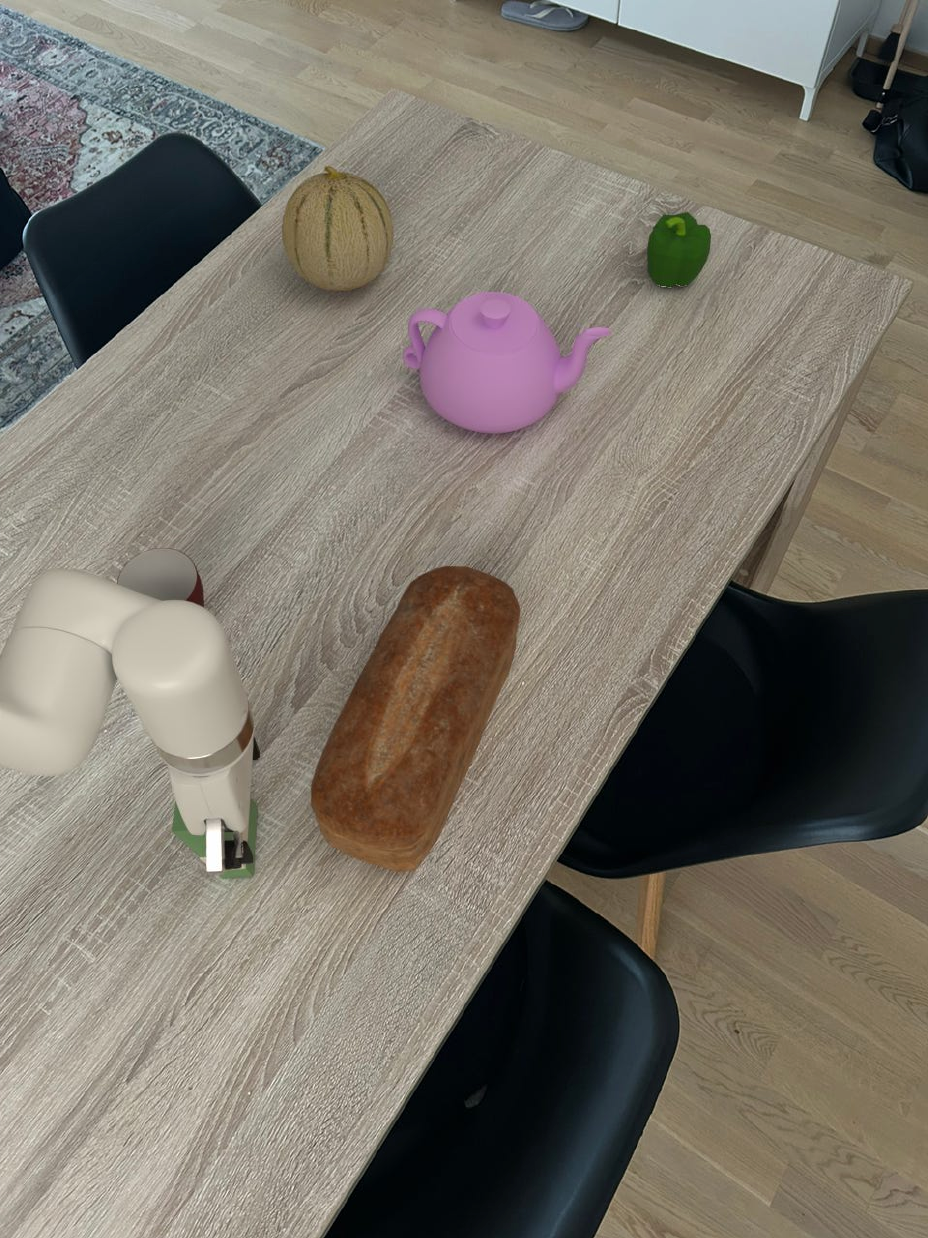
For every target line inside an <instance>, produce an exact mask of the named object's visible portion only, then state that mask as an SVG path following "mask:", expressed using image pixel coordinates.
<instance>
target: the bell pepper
mask: <svg viewBox="0 0 928 1238" xmlns="http://www.w3.org/2000/svg"><path fill="white" fill-rule="evenodd" d="M711 243H712V234H711V229H710V228H709V227H708V226H707V225H706V224H698V221H697V219H696V218H695V217H694V216H693V215H692V214H691V213H689V212H688V211H684V212H681V213H677V214H662V215H661V217H660V218H659V219H658V220H657V222H656V223H655V225H654V226H653V228H652V231H651V232H650V234H649V236H648V242H647V246H646V247H647V248H646V249H647V250H646V251H647V252H646V262H647V272H648V276H649V277H650V279H651V278H652V279H651V281H652V282H653V281H654V282H655V283H656V284H658V285H660V286H666V287H672V288H674V287H675V286H674V285H676V284H677V285H680V286H685V285H687V286H689V285H690V284H691V283H693V281H695V280H696V279H697V278H698V276H699V274H700V273H701V272H702V269H703V268H704V266H705V265H706V264H707V261H708V258H709V255H710V251H711ZM654 282H653V283H654ZM655 283H654V284H655ZM656 284H655V285H656ZM688 284H689V285H688ZM658 285H657V286H658ZM673 286H674V287H673Z"/></svg>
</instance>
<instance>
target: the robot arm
mask: <svg viewBox="0 0 928 1238" xmlns="http://www.w3.org/2000/svg"><path fill="white" fill-rule="evenodd" d="M117 681H118V683H119V684H120V686H121V688H122V690H123V691H124V693H125V695H126V697H127V699H128V700H129V703H130V704H131V706H132V708H133V710H134V711H135V713H136V715H137V717H138V719H139V720H140V722H141V724H142V726H143V728H144V730H145V731H146V733H147V735H148V737H149V739H150V740H151V742H152V743H153V745H154V748H155V749H156V751H157V754H158V755H159V757H160V758H161V759H162V761H163V762H164V763H165V764H166V765H167V767H168V770H169V779H170V785H171V789H172V794H173V797H174V802H175V801H176V804H177V806H178V809H179V812H180V814H181V817H182V819H183V821H184V823H185V825H186V827H187V829H188V831H189V832H190V833H191V834H192V835H203V834H204V833H205V834H206V864H205V865H206V867H205V868H206V875H207V876H219V875H222V874H224V873H225V872H227V870H231V869H239V868H241V867H242V864H251V863H253V860H254V856H253V854H252V852H251V849H250V847H249V845H248V843H247V841H245V840H243V837H242V831H244V830H245V828H246V827H247V824H248V817H249V805H250V798H251V789H252V778H253V777H252V775H253V762H254V761H258V760H259V759H260V758H261V750H260V748H259V747H260V746H259V743H258V741H257V739H256V737H255V736H256V735H255V733H256V719H255V716H254V715H255V714H254V712H253V709H252V706H251V703H250V701H249V697H248V695H247V692H246V689H245V687H244V683H243V680H242V676H241V674H240V671H239V668H238V666H237V663H236V659H235V656H234V653H233V650H232V647H231V645H230V642H229V639H228V636H227V634H226V632H225V630H224V627H223V625H222V624H221V622H220V621H219V620H218V618H217V617H216V616H215V615H214V614H213V613H212V612H211V611H209V609H206V608H205V607H204V608H203V607H202V606H200V605H197V604H195V603H193V602H188V601H184V600H165V601H161V600H158V599H156V598H153V597H150V596H147V595H144V594H142V593H139V592H136V591H134V590H131V589H129V588H126V587H124V586H121V585H119V584H117V582H113V581H111V580H108V579H106V578H104V577H103V576H102V575H100V574H97V573H95V572H93V571H90V570H87V569H82V568H64V567H63V568H62V567H61V568H59V567H58V568H52V569H49V570H46V571H44V572H42V573H41V574H40V575H38V576H37V577H36V578H35V579H34V580H33V582H32V583H31V585H30V587H29V590H28V591H27V593H26V595H25V597H24V600H23V602H22V604H21V606H20V609H19V611H18V614H17V616H16V618H15V621H14V623H13V626H12V628H11V630H10V633H9V635H8V636H7V639H6V641H5V642H4V645H3V647H2V650H1V652H0V767H2V768H5V769H8V770H11V771H16V772H19V773H21V774H28V775H32V776H40V777H54V776H60V775H64V774H67V773H70V772H72V771H73V770H75V769H77V768H78V767H79V766H80V765H82V764H83V763H84V762H85V761H86V759H87V758H88V757H89V755H90V753H91V752H92V750H93V748H94V746H95V744H96V741H97V739H98V737H99V734H100V731H101V728H102V725H103V723H104V720H105V717H106V714H107V711H108V708H109V706H110V702H111V700H112V696H113V693H114V691H115V687H116V685H117ZM224 832H233V840H224Z"/></svg>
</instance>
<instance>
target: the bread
mask: <svg viewBox="0 0 928 1238" xmlns="http://www.w3.org/2000/svg"><path fill="white" fill-rule="evenodd" d="M520 619H521V606H520V603H519V600H518V598H517V596H516V594H515V591H514V589H513V588H512V587H511V586H510V584H508V583H507V582H505V581H504V580H502V579H500V578H498V577H496V576H494V575H491V574H489V573H487V572H484V571H482V570H478V569H476V568H473V567H470V566H461V565H460V566H459V565H444V566H439V567H434V568H433V569H431V570H429V571H427V572H425V573H423V574H421V575H418V576H417V577H416V578H414V579H413V580H412V581H411V582H409V584H408V585H407V588H406V589H405V590H404V592H403V594H402V595H401V597H400V599H399V602H398V604H397V606H396V608H395V611H394V612H393V614H392V615H391V617H390V618H389V620H388V622H386V625H385V627H384V628H383V631H382V632H381V634H380V635H379V637H378V640H377V642H376V644H375V646H374V649H373V650H372V653H370V656H369V657H368V659H367V661H366V663H365V664H364V666H363V668H362V670H361V672H360V674H359V675H358V678H357V680H356V681H355V683H354V686H353V687H352V689H351V692H350V693H349V695H348V697H347V700H346V702H345V704H344V705H343V708H342V710H341V712H340V713H339V715H338V717H337V719H336V721H335V723H334V726H333V728H332V730H331V732H330V734H329V735H328V738H327V740H326V743H325V745H324V747H323V749H322V751H321V754H320V757H319V759H318V762H317V764H316V768H315V771H314V775H313V777H312V781H311V784H310V807H311V809H312V811H313V813H314V816H315V817H314V818H315V820H316V822H317V824H318V827H319V833H320V834H321V835H322V837H323V838H324V841H326V843H327V845H329V846H330V847H333V848H334V849H336V850H338V851H340V852H342V853H344V854H346V855H348V856H350V857H353V858H354V859H357V860H359V861H361V862H364V863H367V864H371V865H373V866H377V867H379V868H380V867H381V868H384V869H386V870H390V871H394V872H397V873H402V872H411V871H415V870H416V869H417V868H418V867H419V866H420V864H421V863H422V862H423V861H424V860H425V859H426V857H427V856H428V855H429V853H430V852H431V850H432V849H433V847H434V846H435V844H436V842H437V840H438V838H439V836H440V834H441V832H442V830H443V828H444V825H445V823H446V820H447V818H448V816H449V813H450V811H451V808H452V806H453V804H454V801H455V799H456V797H457V794H458V792H459V789H460V787H461V785H462V782H463V781H464V779H465V777H466V774H467V772H468V770H469V769H470V766H471V763H472V760H473V759H474V756H475V754H476V752H477V749H478V747H479V745H480V743H481V740H482V737H483V734H484V731H485V729H486V726H487V723H488V721H489V718H490V716H491V713H492V710H493V708H494V706H495V705H496V704H495V703H496V701H497V699H498V697H499V694H500V693H501V690H502V688H503V686H504V684H505V682H506V680H507V677H508V675H509V674H510V671H511V668H512V664H513V662H514V658H515V653H516V649H517V633H518V629H519V624H520Z"/></svg>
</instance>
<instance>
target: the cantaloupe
mask: <svg viewBox="0 0 928 1238" xmlns="http://www.w3.org/2000/svg"><path fill="white" fill-rule="evenodd" d="M286 203H287V204H286V206H285V210H284V213H283V217H282V224H281V237H282V244H283V249H284V252H285V254H286V257H287V259H288V261H289V264H291V266H292V268H293V269H294V271H296V273H297V274H299V275H300V277H302V279H304V280H305V281H306V282H308V283H309V284H310V285H312V286H315V287H317V288H319V289H322V290H325V291H329V292H331V291H333V292H334V291H335V292H336V291H337V292H350V291H352V290H356V289H359V288H363V287H364V286H367V285H368V284H370V283H371V282H372V281H373V280H375V279H376V278H377V277H378V276H379V275H380V274H381V273H382V272H383V270H384V269H385V268H386V266H387V264H388V263H389V260H390V257H391V253H392V250H393V246H394V225H393V217H392V213H391V210H390V208H389V205H388V203H387V201H386V199H385V198H384V196H383V195H382V193H381V192H380V191H379V189H378V188H377V187H376V186H374V184H373V183H371V182H370V181H368V180H367V179H365V178H363V177H361V176H358V175H355V174H352V173H350V172H346V171H345V172H344V171H340V172H338V171H337V170H336V169H335V168H334V167H332V166H330V165H325V166H324V172H322V173H317V174H314V175H312V176H310V177H308V178H306V179H305V180H303V181H302V182H301V183H300V184H298V185H297V187H296V188H295V189H294V190H293V192H292V193H291V195H290V197H289V199H288V200H287V202H286Z"/></svg>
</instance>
